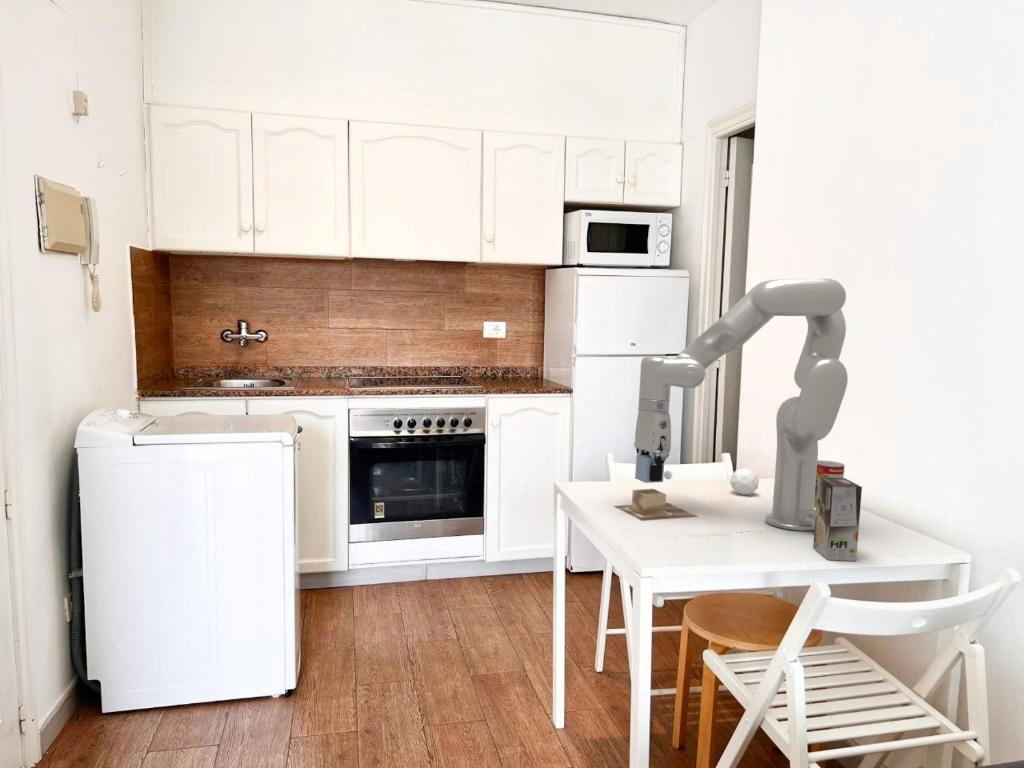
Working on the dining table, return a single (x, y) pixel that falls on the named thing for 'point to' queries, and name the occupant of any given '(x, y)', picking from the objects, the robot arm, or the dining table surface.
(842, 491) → the coffee box
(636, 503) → the oak block
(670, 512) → the plate
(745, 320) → the robot arm
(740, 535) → the dining table surface
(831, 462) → the canned food
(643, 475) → the slate block
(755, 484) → the geometric ball
